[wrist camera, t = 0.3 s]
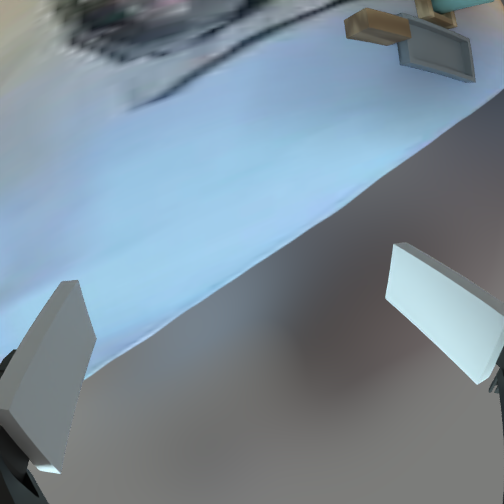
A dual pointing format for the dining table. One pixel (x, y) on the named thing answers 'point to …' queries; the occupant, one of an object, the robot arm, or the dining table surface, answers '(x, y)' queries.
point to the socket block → (435, 15)
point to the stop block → (377, 27)
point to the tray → (436, 50)
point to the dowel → (454, 5)
